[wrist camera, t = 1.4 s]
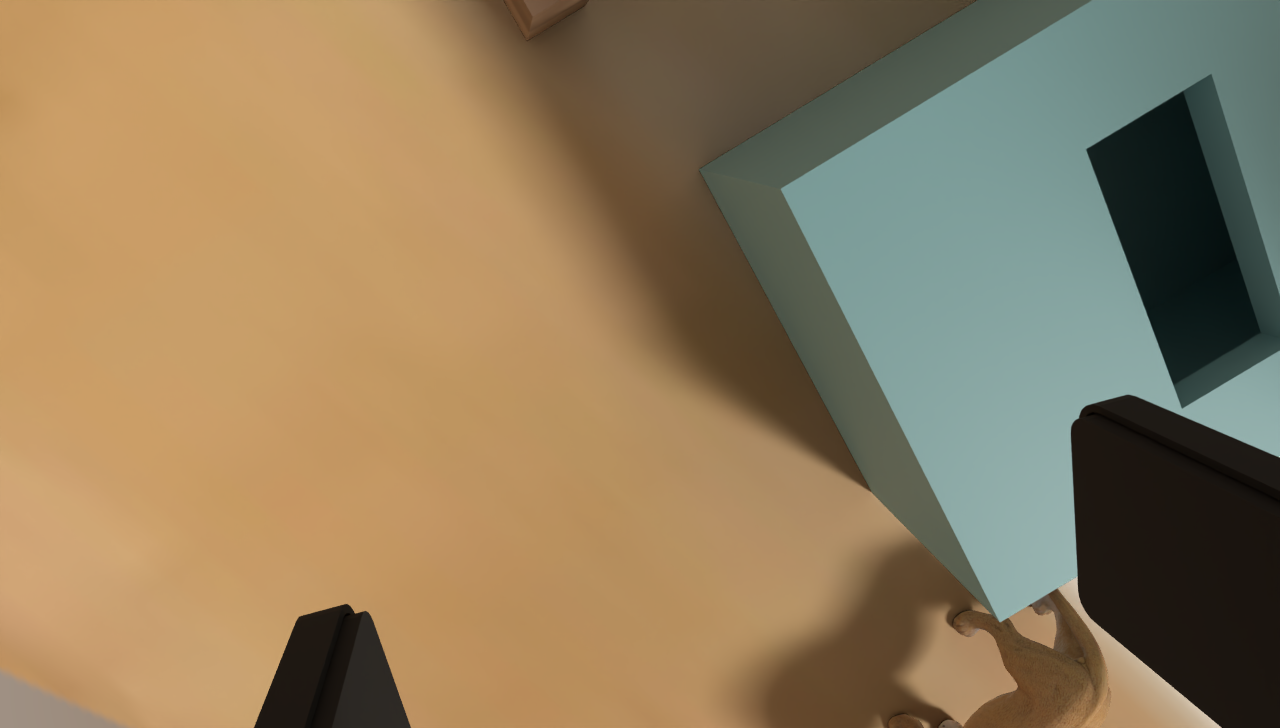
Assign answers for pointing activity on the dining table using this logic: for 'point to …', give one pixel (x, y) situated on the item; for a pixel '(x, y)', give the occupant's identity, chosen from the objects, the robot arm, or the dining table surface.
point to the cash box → (1026, 256)
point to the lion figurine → (1039, 674)
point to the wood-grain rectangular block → (541, 13)
